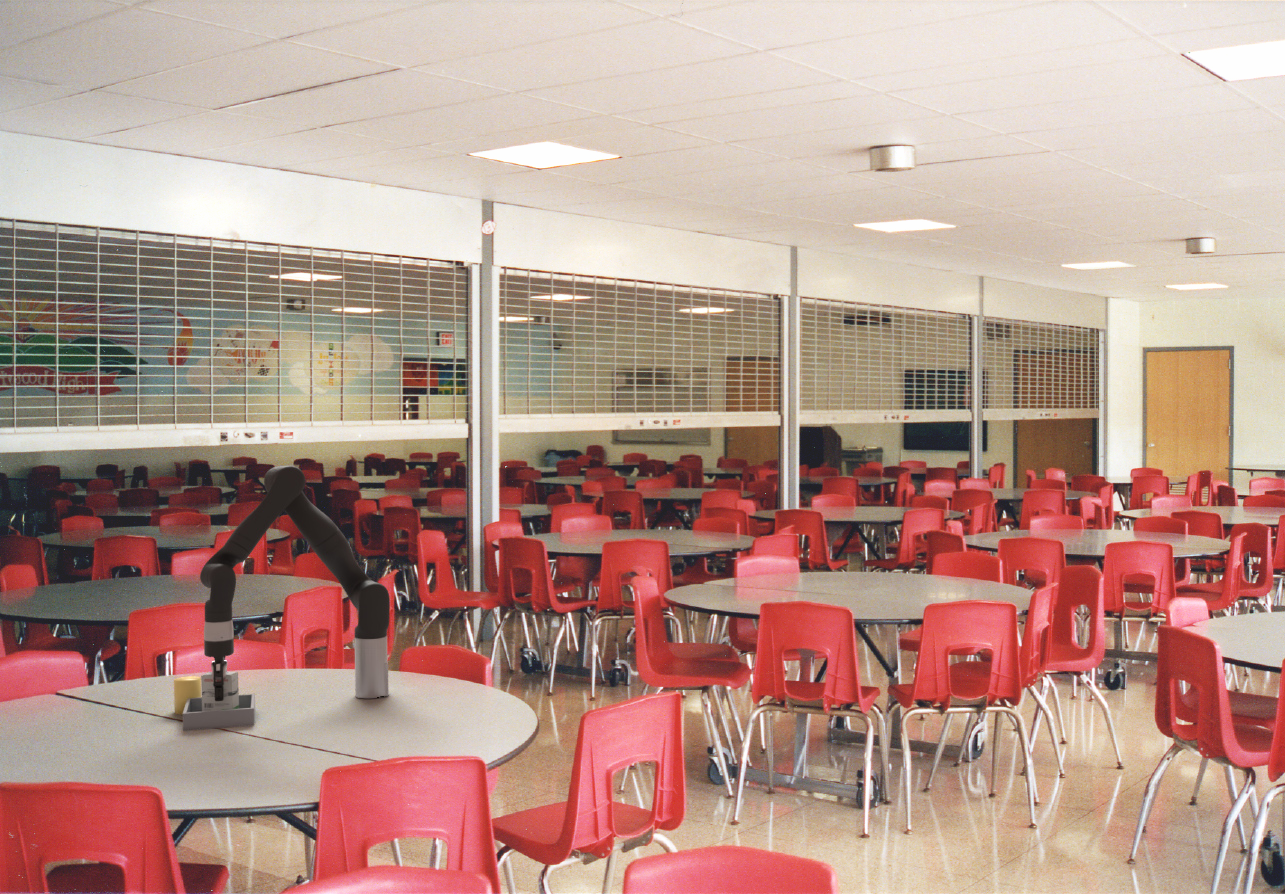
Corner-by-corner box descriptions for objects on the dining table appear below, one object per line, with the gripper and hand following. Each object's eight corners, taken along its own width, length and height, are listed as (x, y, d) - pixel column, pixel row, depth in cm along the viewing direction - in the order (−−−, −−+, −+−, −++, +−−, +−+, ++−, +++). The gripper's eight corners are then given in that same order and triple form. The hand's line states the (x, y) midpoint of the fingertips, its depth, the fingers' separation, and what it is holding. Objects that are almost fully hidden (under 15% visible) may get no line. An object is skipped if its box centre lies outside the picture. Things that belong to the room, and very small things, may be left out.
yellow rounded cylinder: (202, 707, 341) (201, 675, 341) (200, 713, 334) (200, 680, 334) (175, 709, 339) (174, 677, 339) (173, 715, 332) (172, 682, 332)
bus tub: (255, 709, 338) (254, 693, 338) (254, 725, 321) (253, 708, 321) (187, 714, 333) (187, 698, 333) (183, 730, 316) (182, 713, 316)
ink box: (240, 714, 329) (239, 671, 329) (232, 719, 324) (232, 674, 324) (208, 714, 330) (208, 670, 329) (201, 718, 325) (200, 674, 324)
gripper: (232, 641, 320) (233, 702, 321) (234, 631, 334) (235, 690, 335) (202, 643, 318) (203, 704, 319) (205, 633, 332) (206, 692, 332)
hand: (219, 697), depth 327 cm, fingers open, 8 cm apart
